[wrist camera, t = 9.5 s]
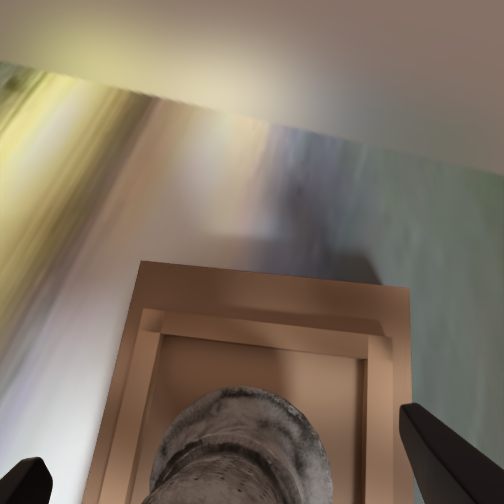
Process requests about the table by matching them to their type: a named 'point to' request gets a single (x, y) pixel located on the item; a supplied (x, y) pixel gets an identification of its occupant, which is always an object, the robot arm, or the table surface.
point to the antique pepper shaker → (240, 453)
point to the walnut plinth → (261, 371)
